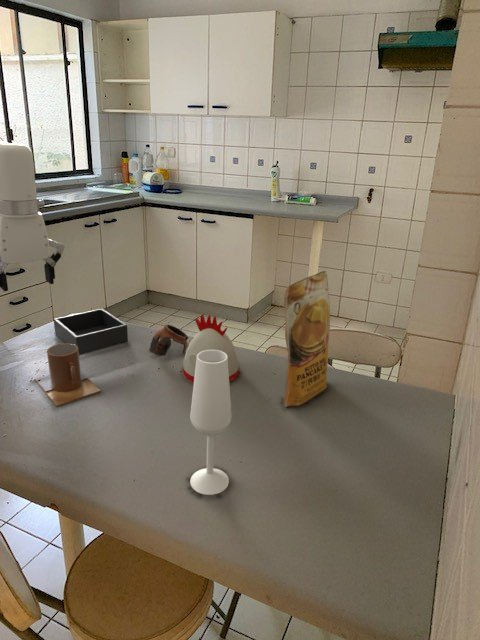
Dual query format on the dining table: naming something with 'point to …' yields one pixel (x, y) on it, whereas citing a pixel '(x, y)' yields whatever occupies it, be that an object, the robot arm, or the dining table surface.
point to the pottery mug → (167, 339)
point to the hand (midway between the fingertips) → (27, 285)
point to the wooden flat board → (72, 393)
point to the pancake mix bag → (306, 338)
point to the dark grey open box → (91, 330)
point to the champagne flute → (210, 414)
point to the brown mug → (64, 367)
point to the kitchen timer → (210, 347)
